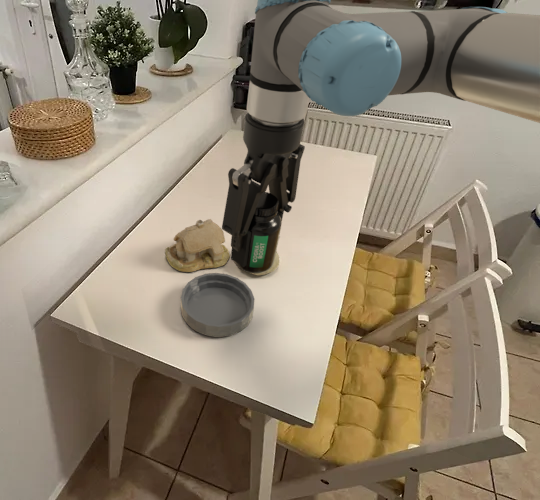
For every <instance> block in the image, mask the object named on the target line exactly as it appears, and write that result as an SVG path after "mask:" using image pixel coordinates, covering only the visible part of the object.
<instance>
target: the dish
mask: <svg viewBox="0 0 540 500" xmlns="http://www.w3.org/2000/svg"><path fill="white" fill-rule="evenodd" d="M254 309H255V297H254V294H253V291H252V289H251V288H250V287H249V286H248V284H247V283H246V282H244V281H243V280H242V279H240V278H239V277H236V276H234V275H231V274H227V273H221V272H209V273H203V274H201V275H198V276H194V278H192V279H191V280H189V281H188V282H187V283H186V285H185V286H184V287H183V288H182V291H181V295H180V311H181V316H182V318H183V319H184V322H185V323H186V324H187V326H189V327H190V328H191V329H192V330H194V331H195V332H197V333H199V334H201V335H203V336H207V337H213V338H214V337H215V338H222V337H223V338H224V337H230V336H234V335H236V334H238V333H240V332H242V331H243V330H244V329H245V328H246V327H248V326H249V324H250V323H251V321H252V319H253V315H254Z"/></svg>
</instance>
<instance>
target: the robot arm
mask: <svg viewBox="0 0 540 500" xmlns="http://www.w3.org/2000/svg"><path fill="white" fill-rule="evenodd" d="M330 4H331V0H257V3H256V7H255V9H254V14H255V18H254V28H253V39H252V40H253V41H252V51H251V61H250V72H249V84H248V85H249V86H248V93H247V101H246V112H247V113H246V114H245V117H244V125H243V133H242V134H243V135H242V140H243V143H244V145H245V146H246V150H247V153H246V156H245V158H244V161H243V165H242V166H241V167H239V168H238V169H237V168H234V167H231V168H230V169H229V171H228V173H227V176H228V178H227V179H228V190H227V195H226V201H225V207H224V213H223V219H222V224H221V229H222V230H223V232H226V233H228V234H229V235H230V236H231V238H230V247H231V252H230V259H231V260H232V261H233V262H234V261H235V262H236V263H238V264H239V265H241V266H242V267H245V266H246V265H247V259H248V252H249V245H250V238H251V232H250V231H248V229H249V226H250V223H251V221H252V218H253V215H254V213H255V210H256V207H257V205H258V202H259V199H260V197H261V194H262V193H263V192H267V189H268V193H271V194H273V195H274V196H275V197H277V199H278V212H277V213H278V214H279V216H280V218H281V221H282V222H283V217H284V213H285V212H286V213H290V212H291V211H292V208H293V206H292V205H289V203H291V204H292V203H294V202H295V200H296V197H297V189H298V182H299V176H300V175H299V174H300V169H301V160H302V157H303V155H304V153H305V148H306V147H305V145H304V144H301V143H302V136H303V133H304V126H305V119H304V118H306V116H307V113H308V109H309V108H308V107H309V102H310V100H311V101H312V102H314V103H315V104H316V105H318V106H322V107H323V108H324V109H327V110H328V111H330V112H331V113H333V114H335V115H338V116H342V117H357V116H361V115H363V114H366V112H367V111H369V110H370V109H372V108H375V107H377V106H379V105H380V104H382V103H383V102H384V101H385V99H387V97H388V96H395V95H396V96H397V95H406V94H407V95H409V94H420V93H422V94H423V93H434V94H435V93H436V94H441V95H443V96H446V97H450V98H454V99H456V100H460V101H463V102H469V103H472V104H475V105H479V106H482V107H485V108H488V109H491V110H495V111H498V112H502V113H505V114H508V115H512V116H514V117H517V118H521V119H525V120H528V121H531V122H535V123H538V124H540V14H529V13H514V12H507V11H505V10H504V9H500V8H491V7H486V6H466V7H462V8H457V9H456V8H455V9H454V8H453V9H438V10H421V11H415V10H411V11H389V12H388V11H387V12H367V13H365V12H364V13H349V12H348V13H347V12H346V13H345V12H343V11H340V10H338V9H334V8H333V7H330Z"/></svg>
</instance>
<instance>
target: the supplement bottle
mask: <svg viewBox="0 0 540 500" xmlns="http://www.w3.org/2000/svg"><path fill="white" fill-rule="evenodd" d="M277 212H278V199H277V197H275V196H274V195H273V194H271V193H270V192H269V191H265V192H263V193H262V194H261V197H260V199H259V202H258V205H257V207H256V210H255V213H254V215H253V218H252V221H251V223H250V226H249V229H248V231H250V232H251V238H250V245H249V252H248V259H247V265H246V266H245V267H242V266H241V265H239V264H238V263H236V262H235V261H233V263H234V264H235V266H236V267H237V268H238V269H240V270H241V271H243V272H245V273H248V274H251V273H262V272H265V271H267V270H269V269H270V268H271V267H272V266H273V264H274V260H275V256H276V250H277V249H278V245H279V239H280V235H281V230H282V223H283V220H282V221H281V218H280V216H279V214H278V213H277Z"/></svg>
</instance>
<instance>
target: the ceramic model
mask: <svg viewBox="0 0 540 500" xmlns="http://www.w3.org/2000/svg"><path fill="white" fill-rule="evenodd" d="M173 242H175V243H174V244H171V245H170V246H166V247H165V249H164V255H165V258H166V260H167V262H168V264H169V265H170V267H172V268H173V269H174V270H176V271H179V272H184V273H185V272H186V273H192V272H196V271H199V270H204V269H212V268H219V267H223V266H225V265H226V264H227V263H228V261H229V259H230V258H231V252H230V250H229V249H228V248H227V247H226V246H225V245H224V243H226V238H225V234H224V230H223V229H222V227H221V226H220V225H218V224H217V223H216V222H214V221H213V220H212V219H211V218H208V219H206V220H204V221H203V220H201V219H198V220H197V221H196V222H195V224H193V225H190V226H187V227H185V228H184V229H182V230H181V231H179V232H177V233H176V234H175V235H174V237H173Z"/></svg>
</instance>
